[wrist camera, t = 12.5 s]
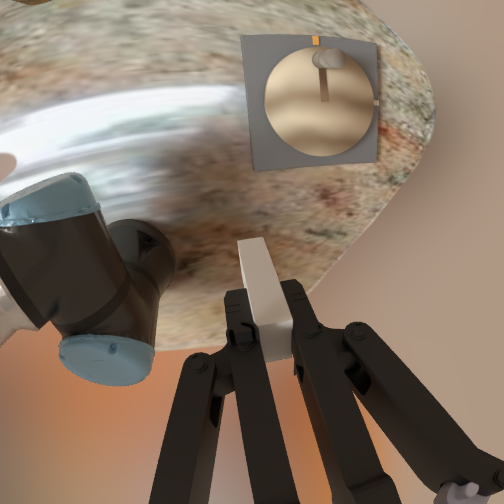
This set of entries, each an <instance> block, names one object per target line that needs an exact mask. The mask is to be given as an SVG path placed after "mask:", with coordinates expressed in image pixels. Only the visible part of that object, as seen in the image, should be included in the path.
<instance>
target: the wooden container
mask: <svg viewBox="0 0 504 504" xmlns="http://www.w3.org/2000/svg"><path fill="white" fill-rule="evenodd" d="M13 1H17V2H20V3H24V4H28V5H38V4H42V3H45V2H48V1H50V0H13Z"/></svg>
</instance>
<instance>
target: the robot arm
mask: <svg viewBox="0 0 504 504" xmlns="http://www.w3.org/2000/svg"><path fill="white" fill-rule="evenodd" d="M100 208H101V207H100V204H99V203H97V202H96V199H95V197H94V195H93V193H92V191H91V189H90V187H89V184H88V182H87V180H86V179H85V178H84V177H83V176H82V175H81V174H79V173H75V172H69V173H64V174H60V175H57V176H54V177H51V178H48V179H46V180H43V181H41V182H38V183H36V184H33V185H31V186H29V187H27V188H25V189H22V190H20V191H18V192H16V193H14V194H13V195H11V196H9V197H7V198H6V199H4V200H3V201H1V202H0V347H1V346H2V345H3V344H4V343H5V342H6V341H7V340H8V339H9V338H10V337H11V336H12V335H13V334H14V333H15V332H16V331H17V330H20V329H25V330H31V331H38V330H40V329H41V328H42V327H43V326H44V325H45V324H46V323H47V322H48V321H49V320H50V321H51V322H52V324H53V325H54V326H55V327H56V329H57V330H58V331H59V332H60V334H61V335H62V340H61V341H60V343H59V346H58V347H59V357H60V360H61V362H62V363H63V365H64V366H65V367H66V368H67V369H68V370H70V371H71V372H72V373H74V374H75V375H77V376H79V377H81V378H83V379H85V380H88V381H90V382H94V383H98V384H101V385H107V386H129V385H133V384H137V383H139V382H141V381H143V380H144V379H145V378H146V377H147V376H148V375H149V373H150V371H151V367H152V363H153V358H154V356H155V350H154V346H155V335H156V326H157V317H158V308H159V300H160V297H161V296H162V294H163V293H164V291H165V290H166V288H167V287H168V286H169V284H170V283H171V281H172V278H173V275H174V268H175V255H174V251H173V249H172V246H171V244H170V243H169V241H168V240H167V238H166V237H165V236H164V235H163V234H162V233H161V232H160V231H159V230H157V229H156V228H154V227H153V226H151V225H149V224H147V223H144V222H141V221H136V220H120V221H116V222H113V223H111V224H109V225H106V222H105V220H104V218H103V215H102V213H101V210H100ZM237 243H238V250H239V257H240V265H241V272H242V279H243V284H244V288H243V289H237V290H231V291H227V292H226V295H225V297H224V304H225V313H226V321H227V330H226V337H227V341H228V342H227V344H226V345H225V347H224V348H223V349H221V350H220V351H218V352H216V353H214V354H211V355H209V354H206V353H202V352H200V353H195V354H192V355H190V356H189V357H188V358H187V359H186V360H185V362H184V364H183V367H182V371H181V375H180V378H179V382H178V386H177V389H176V393H175V397H174V401H173V405H172V408H171V412H170V416H169V420H168V424H167V428H166V431H165V435H164V440H163V444H162V448H161V452H160V456H159V460H158V464H157V469H156V473H155V477H154V482H153V486H152V491H151V495H150V500H149V504H208V501H209V494H210V488H211V482H212V475H213V469H214V463H215V456H216V449H217V444H218V437H219V431H220V424H221V418H222V412H223V406H224V399H225V395H227V394H229V393H231V392H233V391H235V394H236V400H237V406H238V413H239V419H240V426H241V432H242V438H243V443H244V449H245V456H246V461H247V466H248V472H249V478H250V483H251V488H252V493H253V499H254V504H300V502H299V499H298V495H297V491H296V488H295V484H294V480H293V476H292V472H291V468H290V464H289V460H288V456H287V452H286V448H285V444H284V440H283V435H282V431H281V427H280V423H279V419H278V415H277V411H276V406H275V402H274V398H273V394H272V390H271V386H270V381H269V377H268V373H267V369H266V364H265V363H266V362H271V361H276V360H282V359H287V358H291V357H292V354H293V357H294V375H296V374H297V377H298V381H299V384H300V387H301V391H302V394H303V397H304V401H305V404H306V407H307V411H308V414H309V417H310V421H311V424H312V428H313V431H314V434H315V438H316V441H317V444H318V448H319V451H320V454H321V458H322V461H323V465H324V468H325V471H326V475H327V478H328V482H329V485H330V489H331V492H332V503H333V504H402V503H401V500H400V498H399V495H398V492H397V489H396V486H395V484H394V482H393V480H392V478H391V477H390V476H389V475H388V474H386V473H385V472H384V471H383V469H382V466H381V464H380V461H379V458H378V456H377V453H376V450H375V448H374V445H373V442H372V440H371V437H370V435H369V432H368V430H367V427H366V424H365V422H364V419H363V417H362V414H361V412H360V409H359V407H358V404H357V402H356V399H355V397H354V395H353V392H354V394H355V395H356V396H357V398H358V399H359V400H360V402H361V403H362V404H363V406H364V407H365V408H366V410H367V411H368V412H369V413H370V415H371V416H372V417H373V419H374V420H375V421H376V423H377V424H378V425H379V427H380V428H381V429H382V431H383V432H384V433H385V435H386V436H387V437H388V439H389V440H390V441H391V442H392V444H393V445H394V446H395V448H396V449H397V450H398V452H399V453H400V454H401V455H402V457H403V458H404V459H405V461H406V462H407V463H408V465H409V466H410V467H411V469H412V470H413V471H414V473H415V474H416V475H417V477H418V478H419V479H420V480H421V481H422V482H423V484H424V485H425V486H427V487H428V488H429V489H430V490H432V491H433V492H435V493H437V496H436V497H435V499H434V504H487V502H488V500H489V498H490V496H491V495H492V494H495V493H497V492H500V491H502V490H503V489H504V461H502V460H500V459H498V458H496V457H494V456H492V455H490V454H488V453H486V452H484V451H482V450H480V449H478V448H477V447H476V446H475V445H474V444H473V442H472V441H471V440H470V439H469V437H468V436H467V435H466V434H465V433H464V431H463V430H462V429H461V428H460V427H459V426H458V424H457V423H456V422H455V421H454V420H453V418H452V417H451V416H450V415H449V414H448V413H447V411H446V410H445V409H444V408H443V407H442V406H441V404H440V403H439V402H438V401H437V400H436V399H435V397H434V396H433V395H432V394H431V393H430V392H429V391H428V390H427V389H426V387H425V386H424V385H423V384H422V383H421V382H420V381H419V379H418V378H417V377H416V376H415V375H414V374H413V373H412V372H411V370H410V369H409V368H408V367H407V366H406V365H405V364H404V363H403V362H402V361H401V359H400V358H399V357H398V356H397V355H396V354H395V353H394V352H393V351H392V350H391V349H390V347H389V346H388V345H387V344H386V343H385V342H384V341H383V340H382V339H381V338H380V337H379V336H378V335H377V333H376V332H374V330H373V329H372V328H371V327H370V326H368V325H367V324H366V323H362V322H353V323H350V324H349V325H347V326H346V328H345V329H331V328H327V327H325V326H323V324H321V323H319V322H318V320H317V318H316V316H315V314H314V311H313V309H312V307H311V304H310V302H309V300H308V297H307V295H306V293H305V291H304V288H303V286H302V284H300V283H299V282H298V281H297V280H296V279H292V280H287V281H281V282H279V280H278V277H277V274H276V271H275V269H274V266H273V263H272V260H271V258H270V255H269V252H268V249H267V247H266V244H265V241H264V238H263V237H258V238H251V239H245V240H238V241H237ZM352 391H353V392H352Z"/></svg>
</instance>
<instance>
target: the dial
mask: <svg viewBox="0 0 504 504" xmlns="http://www.w3.org/2000/svg"><path fill="white" fill-rule="evenodd" d="M264 107H265V112H266V115H267V119H268V121H269V123H270V125H271V127H272V128H273V130H274V131H275V132H276V134H277V135H278V136H279V137H280V138H281V139H282V140H283V141H284V142H286V143H287V144H288V145H290V146H291V147H293V148H294V149H296V150H298V151H300V152H302V153H305V154H308V155H313V156H331V155H336V154H339V153H342V152H344V151H346V150H348V149H349V148H351V147H352V146H354V145H355V144H356V143H357V142H358V141H359V140H360V139H361V138H362V137H363V136H364V134H365V133H366V131H367V129H368V128H369V125H370V123H371V120H372V116H373V111H374V96H373V91H372V87H371V84H370V82H369V80H368V77H367V76H366V74H365V72H364V71H363V70H362V68H361V67H360V66H359V65H358V64H357V63H356V62H355V61H354V60H353V59H351V58H350V57H349V56H347V55H346V54H345V53H344V52H343V51H342V50H341V49H338V48H332V49H331V48H326V47H310V48H305V49H301V50H298V51H295V52H293V53H291V54H289V55H287V56H286V57H284V58H283V59H282V60H281V61H280V62H278V63H277V65H276V66H275V67H274V68H273V70H272V71H271V73H270V75H269V77H268V79H267V82H266V85H265V89H264Z"/></svg>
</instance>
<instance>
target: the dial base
mask: <svg viewBox="0 0 504 504" xmlns="http://www.w3.org/2000/svg"><path fill="white" fill-rule="evenodd" d="M241 47H242V57H243V67H244V77H245V87H246V97H247V108H248V118H249V129H250V140H251V151H252V162H253V170H254V172H262V171H270V170H279V169H289V168H299V167H310V166H323V165H337V164H355V163H376V157H377V139H378V106H379V101H378V67H377V50H376V43H372V42H366V41H359V40H352V39H345V38H336V37H325V36H312V35H280V34H277V35H245V36H241ZM310 47H326V48H331V49H332V48H338V49H341V50H342V51H343V52H344V53H345V54H346V55H347V56H349V57H350V58H351V59H353V60H354V61H355V62H356V63H357V64H358V65H359V66H360V67H361V68H362V70H363V71H364V72H365V74H366V76H367V77H368V80H369V82H370V84H371V87H372V91H373V96H374V111H373V116H372V120H371V123H370V125H369V128H368V129H367V131H366V133H365V134H364V136H363V137H362V138H361V139H360V140H359V141H358V142H357V143H356V144H355V145H354V146H352V147H351V148H349V149H348V150H346V151H344V152H342V153H339V154H336V155H331V156H313V155H308V154H305V153H302V152H300V151H298V150H296V149H294V148H293V147H291V146H290V145H288V144H287V143H286V142H284V141H283V140H282V139H281V138H280V137H279V136H278V135H277V134H276V132H275V131H274V130H273V128H272V127H271V125H270V123H269V121H268V119H267V115H266V112H265V107H264V89H265V85H266V82H267V79H268V77H269V75H270V73H271V71H272V70H273V68H274V67H275V66H276V65H277V63H278V62H280V61H281V60H282V59H283V58H284V57H286V56H287V55H289V54H291V53H293V52H295V51H298V50H301V49H305V48H310Z"/></svg>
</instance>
